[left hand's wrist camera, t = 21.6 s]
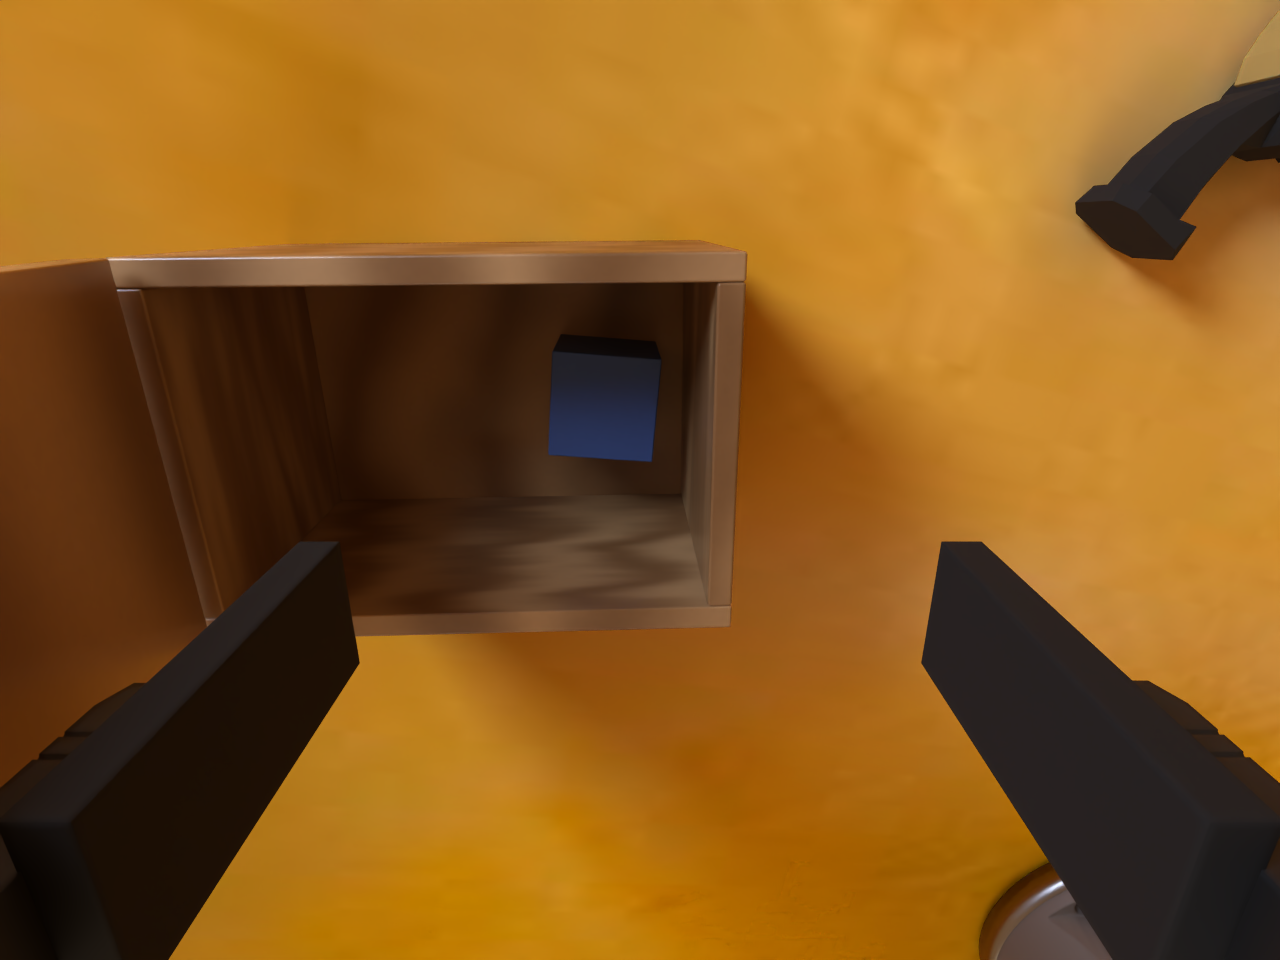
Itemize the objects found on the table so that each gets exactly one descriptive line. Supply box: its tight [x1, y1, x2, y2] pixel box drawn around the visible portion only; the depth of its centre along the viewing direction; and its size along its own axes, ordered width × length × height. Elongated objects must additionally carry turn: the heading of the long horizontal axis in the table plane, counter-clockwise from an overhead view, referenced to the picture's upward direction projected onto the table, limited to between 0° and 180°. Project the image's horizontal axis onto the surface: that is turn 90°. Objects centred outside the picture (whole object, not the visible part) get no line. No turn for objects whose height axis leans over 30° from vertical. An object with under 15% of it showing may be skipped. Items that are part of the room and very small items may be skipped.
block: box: [548, 334, 662, 462], centre depth 29 cm, size 4×4×4 cm
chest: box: [105, 240, 747, 636], centre depth 26 cm, size 18×12×11 cm
